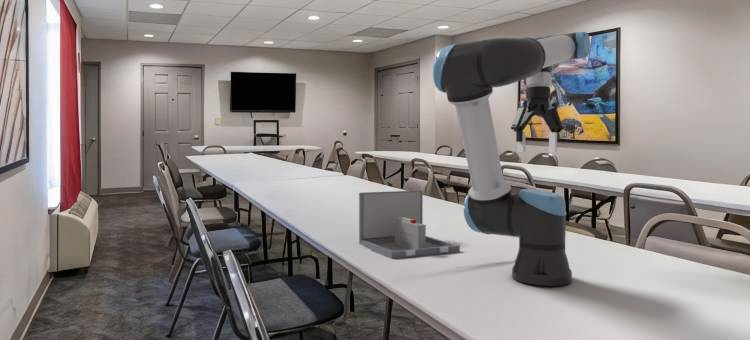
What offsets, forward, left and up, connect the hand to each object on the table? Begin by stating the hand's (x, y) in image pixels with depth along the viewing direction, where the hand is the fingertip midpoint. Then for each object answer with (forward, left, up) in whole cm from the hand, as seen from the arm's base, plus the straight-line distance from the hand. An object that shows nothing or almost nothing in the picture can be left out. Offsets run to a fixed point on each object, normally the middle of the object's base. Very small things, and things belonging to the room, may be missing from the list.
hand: (537, 152), depth 166 cm
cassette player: (+18, +38, -32) cm, 53 cm away
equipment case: (+18, +38, -32) cm, 53 cm away
